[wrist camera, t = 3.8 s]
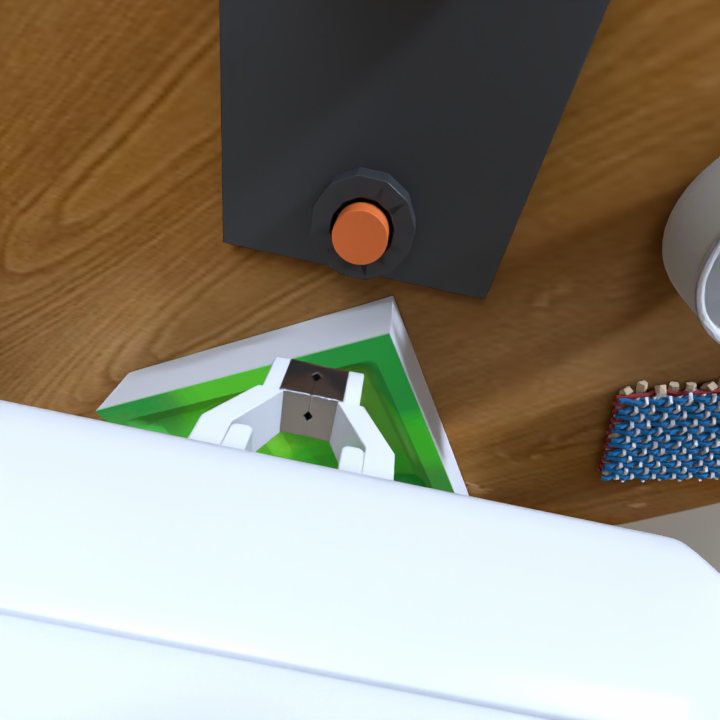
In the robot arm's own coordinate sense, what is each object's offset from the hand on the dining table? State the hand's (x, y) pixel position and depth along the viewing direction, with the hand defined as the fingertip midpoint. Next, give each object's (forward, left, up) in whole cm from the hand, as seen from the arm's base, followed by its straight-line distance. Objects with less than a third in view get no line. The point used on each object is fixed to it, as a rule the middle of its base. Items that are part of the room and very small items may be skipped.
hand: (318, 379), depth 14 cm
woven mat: (+11, +28, -17) cm, 35 cm away
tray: (+22, -1, -17) cm, 28 cm away
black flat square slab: (-5, 0, -17) cm, 17 cm away
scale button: (0, 0, -14) cm, 14 cm away
